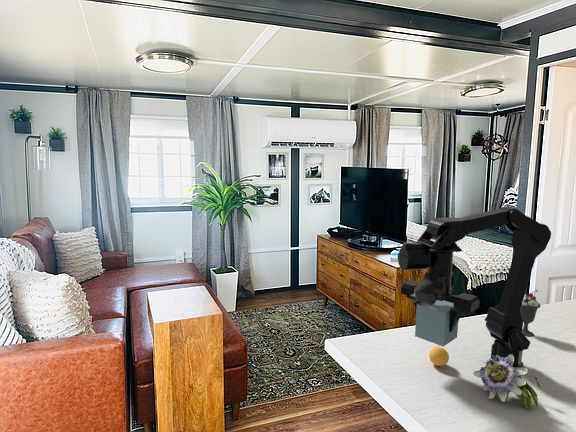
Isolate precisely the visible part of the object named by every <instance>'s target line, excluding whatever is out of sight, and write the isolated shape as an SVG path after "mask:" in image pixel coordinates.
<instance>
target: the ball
mask: <svg viewBox="0 0 576 432" xmlns="http://www.w3.org/2000/svg"><path fill="white" fill-rule="evenodd" d="M428 357H429V361H430V362H431V363H432V364H433V365H435V366H436V367H444V366H446V365H447V364H448V363H449V361H450V360H449V359H450V355H449V352H448V351H447V349H445V348H444V347H443V346H435V347H432V348H431V349H430V350H429V354H428Z"/></svg>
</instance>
